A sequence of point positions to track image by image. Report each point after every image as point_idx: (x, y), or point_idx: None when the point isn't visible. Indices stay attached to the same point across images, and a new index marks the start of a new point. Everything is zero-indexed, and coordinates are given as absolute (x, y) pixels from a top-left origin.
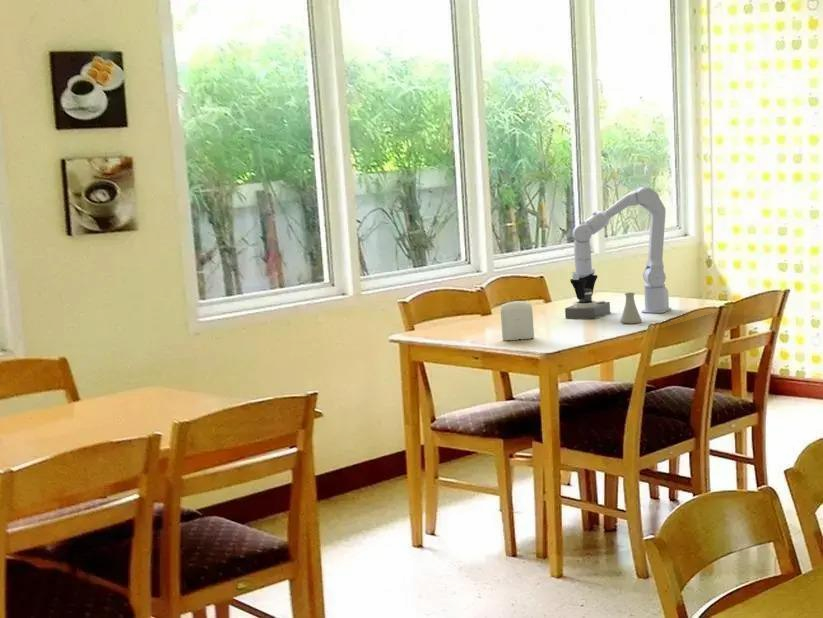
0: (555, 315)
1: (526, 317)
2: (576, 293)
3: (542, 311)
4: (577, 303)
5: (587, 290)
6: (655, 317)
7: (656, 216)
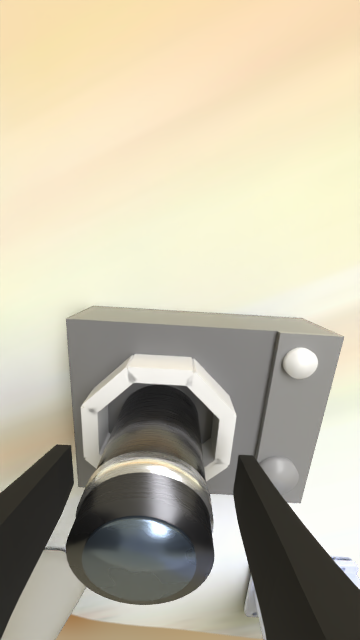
0: (180, 205)
1: None
2: (10, 490)
3: (355, 15)
4: (93, 408)
5: (93, 586)
6: (161, 606)
7: None
